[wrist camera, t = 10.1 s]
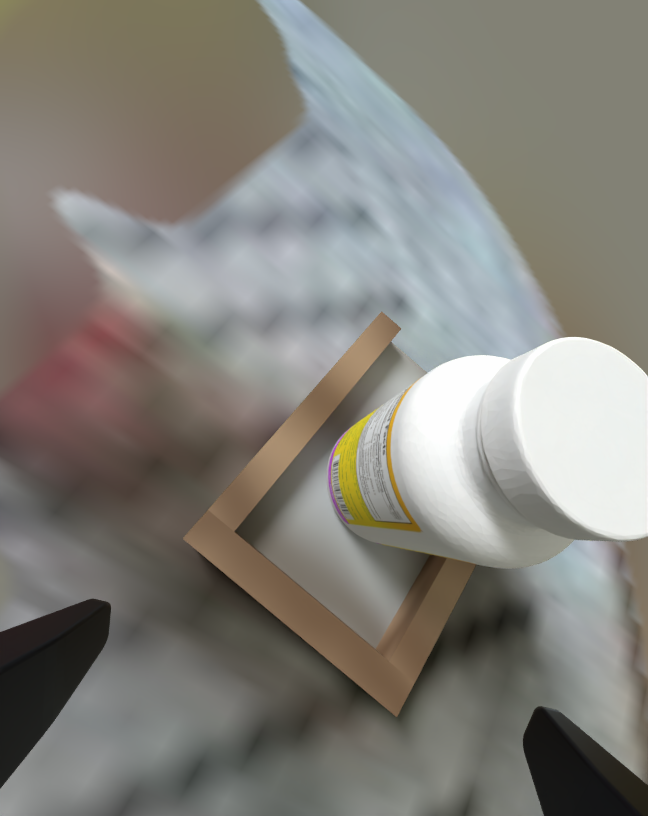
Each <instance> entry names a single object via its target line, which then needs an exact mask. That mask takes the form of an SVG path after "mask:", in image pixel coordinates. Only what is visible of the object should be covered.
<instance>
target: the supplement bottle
mask: <svg viewBox="0 0 648 816" xmlns="http://www.w3.org/2000/svg"><path fill="white" fill-rule="evenodd" d="M326 480H327V489H328V494H329V497H330V500H331V503H332V505H333V507H334V510H335V511H336V513H337V515H338V516H339V518H340V519H341V520H342V521H343V523H344V524H345V525H346V526H347V527H348V528H349V529H350V530H351V531H353V532H354V533H355V534H357V535H358V536H360V537H362V538H364V539H366V540H369V541H371V542H375V543H378V544H382V545H386V546H391V547H396V548H401V549H406V550H411V551H416V552H421V553H426V554H431V555H436V556H440V557H445V558H450V559H454V560H459V561H463V562H468V563H472V564H477V565H481V566H488V567H493V568H503V569H514V568H523V567H529V566H533V565H536V564H539V563H542V562H544V561H547V560H549V559H551V558H552V557H554V556H556V555H557V554H559V553H560V552H562V551H563V550H564V549H565V548H567V547H568V546H569V545H570V544H571V543H572V542H573V541H574V540H594V541H616V542H619V541H632V540H638V539H642V538H645V537H647V536H648V376H647V375H646V374H645V373H644V371H643V370H642V369H641V368H640V367H639V366H637V365H636V364H635V363H634V362H633V361H632V360H630V359H629V358H628V357H626V356H625V355H624V354H622V353H621V352H619V351H618V350H616V349H614V348H612V347H611V346H608V345H606V344H603V343H601V342H598V341H595V340H591V339H586V338H580V337H567V338H560V339H556V340H553V341H550V342H548V343H545V344H543V345H541V346H539V347H537V348H535V349H533V350H531V351H529V352H527V353H525V354H523V355H521V356H518V357H516V358H514V359H512V360H510V359H506V358H502V357H496V356H487V355H477V356H467V357H462V358H458V359H455V360H452V361H449V362H446V363H444V364H442V365H440V366H438V367H436V368H435V369H433V370H432V371H430V372H429V373H427V374H426V375H424V376H423V377H421V378H420V379H419V380H417V381H416V382H414V383H413V384H412V385H410V386H409V387H408V388H406V389H405V390H403V391H402V392H400V393H399V394H398V395H396V396H395V397H393V398H392V399H390V400H389V401H388V402H386V403H385V404H383V405H382V406H380V407H379V408H377V409H376V410H374V411H373V412H372V413H370V414H369V415H367V416H366V417H364V418H363V419H362V420H360V421H359V422H357V423H356V424H355V425H353V426H352V427H350V428H349V429H348V430H347V431H346V432H345V433H344V434H343V435H342V436H341V437H340V438H339V440H338V441H337V443H336V444H335V446H334V448H333V450H332V452H331V455H330V457H329V461H328V466H327V474H326Z"/></svg>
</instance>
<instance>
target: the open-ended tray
mask: <svg viewBox="0 0 648 816" xmlns="http://www.w3.org/2000/svg"><path fill="white" fill-rule="evenodd" d="M400 330H401V328H400V327H399V326H398V325H397V324H395V323H394V322H393V321H392V320H391V319H390V318H388V317H387V316H386V315H385V314H384V313H383V312H381V313H380V314H379V315H378V316H377V317H376V319H375V320H374V321H373V322H372V323H371V324H370V325H369V327H368V328H367V329H366V330H365V331H364V332H363V333H362V335H361V336H360V337H359V338H358V339H357V340H356V341H355V343H354V344H353V345H352V346H351V347H350V348H349V349H348V351H347V352H346V353H345V354H344V355H343V356H342V357H341V359H340V360H339V361H338V362H337V363H336V364H335V365H334V367H333V368H332V369H331V370H330V371H329V372H328V373H327V374H326V376H325V377H324V378H323V379H322V380H321V381H320V382H319V384H318V385H317V386H316V387H315V388H314V389H313V390H312V392H311V393H310V394H309V395H308V396H307V397H306V398H305V400H304V401H303V402H302V403H301V404H300V405H299V406H298V408H297V409H296V410H295V411H294V412H293V413H292V414H291V416H290V417H289V418H288V419H287V420H286V421H285V422H284V424H283V425H282V426H281V427H280V428H279V429H278V430H277V432H276V433H275V434H274V435H273V436H272V437H271V438H270V440H269V441H268V442H267V443H266V444H265V445H264V446H263V448H262V449H261V450H260V451H259V452H258V453H257V454H256V456H255V457H254V458H253V459H252V460H251V461H250V462H249V464H248V465H247V466H246V467H245V468H244V469H243V470H242V472H241V473H240V474H239V475H238V476H237V477H236V478H235V479H234V481H233V482H232V483H231V484H230V485H229V486H228V487H227V489H226V490H225V491H224V492H223V493H222V494H221V495H220V497H219V498H218V499H217V500H216V501H215V502H214V503H213V505H212V506H211V507H210V508H209V509H208V510H207V511H206V513H205V514H204V515H203V516H202V517H201V518H200V519H199V521H198V522H197V523H196V524H195V525H194V526H193V527H192V529H191V530H190V531H189V532H188V533H187V534H186V535H185V537H184V538H183V539H184V540H185V541H186V542H187V543H189V544H190V545H191V546H192V547H193V548H195V549H196V550H197V551H198V552H199V553H201V554H202V555H203V556H204V557H205V558H207V559H208V560H209V561H210V562H211V563H213V564H214V565H215V566H216V567H217V568H219V569H220V570H221V571H222V572H223V573H225V574H226V575H227V576H228V577H229V578H231V579H232V580H233V581H234V582H235V583H237V584H238V585H239V586H240V587H241V588H243V589H244V590H245V591H246V592H247V593H249V594H250V595H251V596H252V597H253V598H255V599H256V600H257V601H258V602H259V603H261V604H262V605H263V606H264V607H265V608H267V609H268V610H269V611H270V612H271V613H273V614H274V615H275V616H276V617H277V618H278V619H280V620H281V621H282V622H283V623H284V624H286V625H287V626H288V627H289V628H290V629H292V630H293V631H294V632H295V633H296V634H298V635H299V636H300V637H301V638H302V639H304V640H305V641H306V642H307V643H308V644H310V645H311V646H312V647H313V648H314V649H316V650H317V651H318V652H319V653H320V654H322V655H323V656H324V657H325V658H326V659H328V660H329V661H330V662H331V663H332V664H334V665H335V666H336V667H337V668H338V669H340V670H341V671H342V672H343V673H344V674H346V675H347V676H348V677H349V678H350V679H352V680H353V681H354V682H355V683H356V684H358V685H359V686H360V687H361V688H362V689H364V690H365V691H366V692H367V693H368V694H370V695H371V696H372V697H373V698H374V699H376V700H377V701H378V702H379V703H380V704H382V705H383V706H384V707H385V708H386V709H388V710H389V711H390V712H391V713H392V714H393V715H395V716H396V717H397V716H398V714H399V712H400V710H401V708H402V706H403V704H404V703H405V701H406V699H407V697H408V695H409V693H410V691H411V689H412V687H413V685H414V683H415V681H416V680H417V678H418V676H419V674H420V672H421V670H422V668H423V666H424V664H425V662H426V660H427V658H428V656H429V655H430V653H431V651H432V649H433V647H434V645H435V643H436V641H437V639H438V637H439V635H440V633H441V631H442V630H443V628H444V626H445V624H446V622H447V620H448V618H449V616H450V614H451V612H452V610H453V608H454V606H455V605H456V603H457V601H458V599H459V597H460V595H461V593H462V591H463V589H464V587H465V585H466V583H467V582H468V580H469V578H470V576H471V574H472V572H473V570H474V568H475V566H476V564H472V563H468V562H463V561H459V560H454V559H450V558H445V557H440V556H436V555H431V554H426V553H421V552H416V551H411V550H406V549H401V548H396V547H391V546H386V545H382V544H378V543H375V542H371V541H369V540H366V539H364V538H362V537H360V536H358V535H357V534H355V533H354V532H353V531H351V530H350V529H349V528H348V527H347V526H346V525H345V524H344V523H343V521H342V520H341V519H340V518H339V516H338V515H337V513H336V511H335V510H334V507H333V505H332V503H331V500H330V497H329V494H328V489H327V480H326V474H327V466H328V461H329V457H330V455H331V452H332V450H333V448H334V446H335V444H336V443H337V441H338V440H339V438H340V437H341V436H342V435H343V434H344V433H345V432H346V431H347V430H348V429H349V428H350V427H352V426H353V425H355V424H356V423H357V422H359V421H360V420H362V419H363V418H364V417H366V416H367V415H369V414H370V413H372V412H373V411H374V410H376V409H377V408H379V407H380V406H382V405H383V404H385V403H386V402H388V401H389V400H390V399H392V398H393V397H395V396H396V395H398V394H399V393H400V392H402V391H403V390H405V389H406V388H408V387H409V386H410V385H412V384H413V383H414V382H416V381H417V380H419V379H420V378H421V377H423V376H424V375H426V374H427V372H426V371H425V370H423V369H422V368H421V367H420V366H419V365H418V364H416V363H415V362H414V361H413V360H412V359H411V358H409V357H408V356H407V355H406V354H405V353H404V352H402V351H401V350H400V349H399V348H398V347H397V346H396V345H394V344H393V343H392V342H391V341H392V339H393V338H394V337H395V336H396V334H397V333H398V332H399V331H400Z"/></svg>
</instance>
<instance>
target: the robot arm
mask: <svg viewBox="0 0 648 816" xmlns="http://www.w3.org/2000/svg"><path fill="white" fill-rule="evenodd" d="M110 614H111V605H110V603H108V602H105V601H101V600H97V599H89V600H86V601H83V602H81V603H78V604H75V605H72V606H70V607H67V608H64V609H62V610H59V611H56V612H53V613H51V614H48V615H45V616H43V617H40V618H37V619H35V620H32V621H29V622H26V623H24V624H21V625H18V626H16V627H13V628H10V629H8V630H5V631H2V632H0V788H1V787H2V786H3V785H4V783H5V782H6V781H7V780H8V778H9V777H10V776H11V775H12V773H13V772H14V771H15V770H16V768H17V767H18V766H19V765H20V763H21V762H22V761H23V760H24V759H25V757H26V756H27V755H28V754H29V752H30V751H31V750H32V749H33V747H34V746H35V745H36V744H37V742H38V741H39V740H40V739H41V737H42V736H43V735H44V733H45V732H46V731H47V730H48V728H49V727H50V726H51V724H52V723H53V722H54V720H55V719H56V717H57V716H58V715H59V713H60V712H61V710H62V709H63V707H64V706H65V704H66V703H67V701H68V700H69V698H70V697H71V695H72V694H73V692H74V691H75V689H76V688H77V687H78V685H79V684H80V682H81V681H82V679H83V678H84V676H85V675H86V673H87V672H88V670H89V669H90V667H91V666H92V664H93V663H94V661H95V660H96V658H97V657H98V655H99V654H100V652H101V651H102V649H103V647H104V645H105V644H106V641H107V638H108V634H109V625H110ZM523 748H524V753H525V757H526V760H527V763H528V766H529V769H530V773H531V776H532V779H533V782H534V785H535V789H536V792H537V795H538V798H539V801H540V805H541V808H542V811H543V814H544V816H648V785H647V784H646V783H644V782H643V781H642V780H641V779H640V778H638V777H637V776H636V775H635V774H634V773H632V772H631V771H630V770H629V769H628V768H626V767H625V766H624V765H623V764H622V763H621V762H619V761H618V760H617V759H616V758H615V757H613V756H612V755H611V754H610V753H609V752H607V751H606V750H605V749H604V748H603V747H601V746H600V745H599V744H598V743H597V742H595V741H594V740H593V739H592V738H591V737H590V736H588V735H587V734H586V733H585V732H584V731H582V730H581V729H580V728H579V727H578V726H576V725H575V724H574V723H573V722H572V721H570V720H569V719H568V718H567V717H566V716H564V715H563V714H562V713H561V712H559V711H557V710H554V709H550V708H546V707H542V706H539V707H537V708H536V709H535V710H534V712H533V714H532V717H531V719H530V721H529V723H528V726H527V728H526V730H525V733H524V736H523Z"/></svg>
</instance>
